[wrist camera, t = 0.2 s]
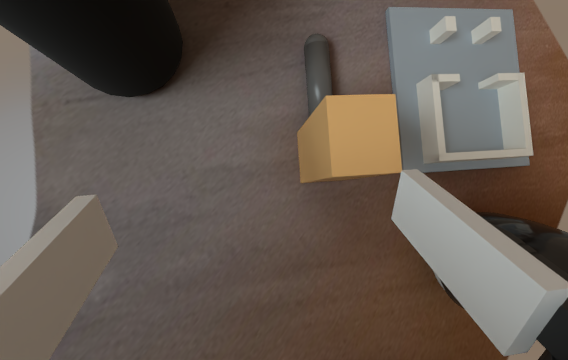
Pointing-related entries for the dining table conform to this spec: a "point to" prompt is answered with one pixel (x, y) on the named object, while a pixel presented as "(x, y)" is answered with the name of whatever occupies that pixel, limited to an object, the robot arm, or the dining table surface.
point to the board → (458, 89)
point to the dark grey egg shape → (529, 240)
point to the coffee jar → (102, 39)
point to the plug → (344, 127)
